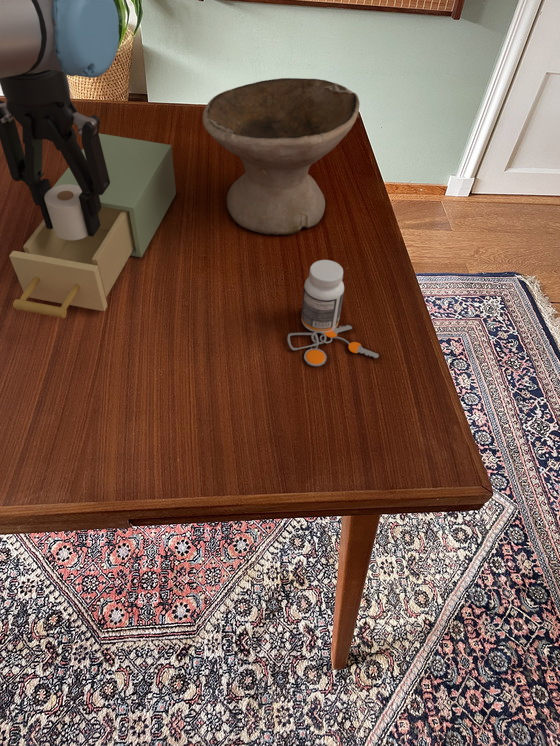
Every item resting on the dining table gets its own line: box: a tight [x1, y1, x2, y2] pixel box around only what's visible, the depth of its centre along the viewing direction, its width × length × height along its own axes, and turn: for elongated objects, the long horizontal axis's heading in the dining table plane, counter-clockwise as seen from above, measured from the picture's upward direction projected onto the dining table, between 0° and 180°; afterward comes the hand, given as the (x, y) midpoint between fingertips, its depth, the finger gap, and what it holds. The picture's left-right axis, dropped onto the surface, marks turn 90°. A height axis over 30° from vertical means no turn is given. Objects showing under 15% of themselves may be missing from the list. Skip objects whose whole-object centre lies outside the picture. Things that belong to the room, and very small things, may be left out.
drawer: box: [8, 207, 135, 319], centre depth 86 cm, size 24×12×8 cm, turn 169°
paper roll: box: [44, 184, 88, 240], centre depth 82 cm, size 6×6×6 cm
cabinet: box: [52, 133, 177, 258], centre depth 97 cm, size 19×14×10 cm
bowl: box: [202, 77, 361, 236], centre depth 97 cm, size 26×25×20 cm
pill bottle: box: [300, 259, 345, 333], centre depth 83 cm, size 6×6×10 cm
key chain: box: [287, 324, 380, 367], centre depth 84 cm, size 13×7×1 cm, turn 99°
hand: (73, 226), depth 83 cm, fingers closed on paper roll, 6 cm apart
